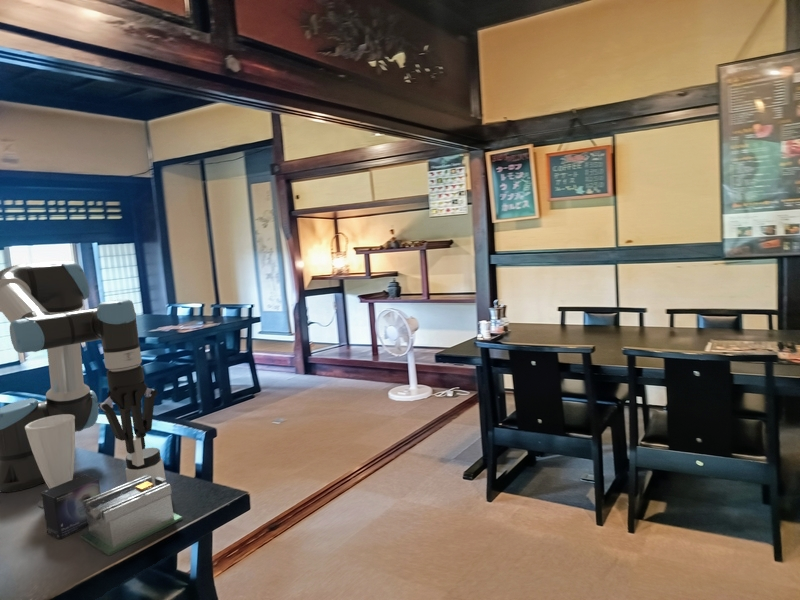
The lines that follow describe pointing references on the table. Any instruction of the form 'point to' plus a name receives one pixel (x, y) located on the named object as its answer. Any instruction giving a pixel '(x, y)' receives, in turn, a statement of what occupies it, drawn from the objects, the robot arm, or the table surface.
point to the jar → (146, 466)
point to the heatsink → (130, 515)
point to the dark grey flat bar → (117, 500)
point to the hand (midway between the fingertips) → (138, 464)
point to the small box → (68, 505)
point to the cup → (53, 448)
